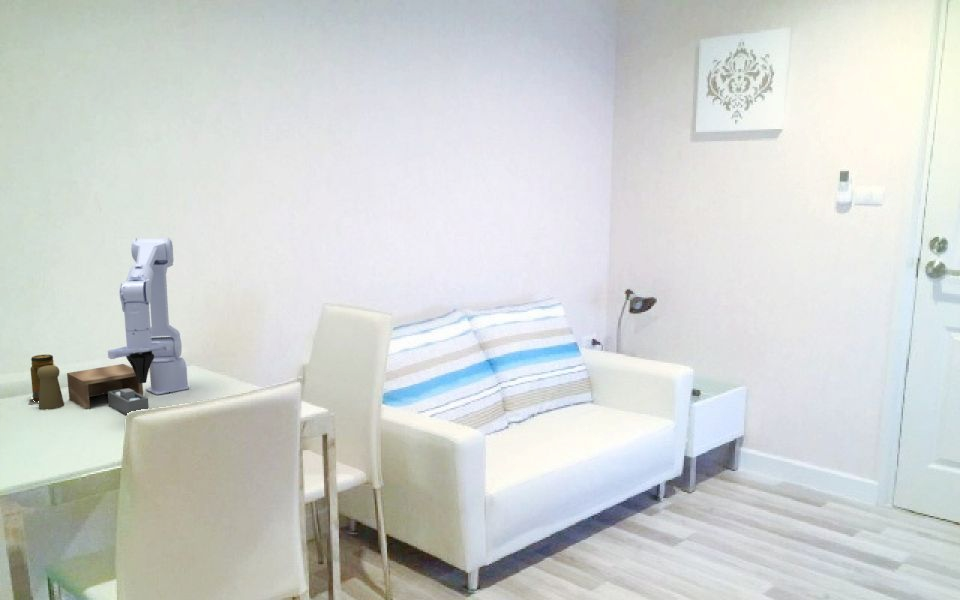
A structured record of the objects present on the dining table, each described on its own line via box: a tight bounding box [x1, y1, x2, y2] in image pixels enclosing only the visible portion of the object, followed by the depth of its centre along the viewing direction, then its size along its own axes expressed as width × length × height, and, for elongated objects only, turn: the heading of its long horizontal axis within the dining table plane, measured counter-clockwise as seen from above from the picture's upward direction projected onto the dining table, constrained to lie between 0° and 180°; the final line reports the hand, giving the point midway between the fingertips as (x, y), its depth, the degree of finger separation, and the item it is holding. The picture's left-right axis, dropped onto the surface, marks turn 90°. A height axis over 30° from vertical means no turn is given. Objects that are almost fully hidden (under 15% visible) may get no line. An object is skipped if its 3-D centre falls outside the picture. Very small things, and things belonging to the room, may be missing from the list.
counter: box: [66, 363, 144, 410], centre depth 214 cm, size 15×13×8 cm
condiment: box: [28, 354, 56, 405], centre depth 214 cm, size 7×8×12 cm
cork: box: [37, 365, 65, 410], centre depth 207 cm, size 6×6×11 cm
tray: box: [107, 388, 150, 416], centre depth 204 cm, size 5×14×5 cm, turn 45°
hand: (142, 382), depth 195 cm, fingers closed
